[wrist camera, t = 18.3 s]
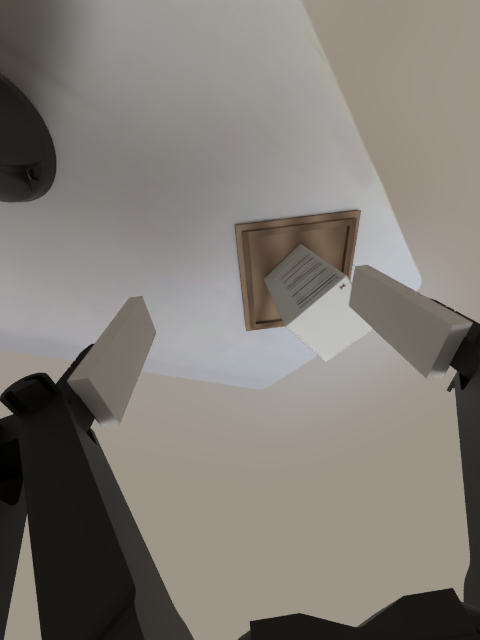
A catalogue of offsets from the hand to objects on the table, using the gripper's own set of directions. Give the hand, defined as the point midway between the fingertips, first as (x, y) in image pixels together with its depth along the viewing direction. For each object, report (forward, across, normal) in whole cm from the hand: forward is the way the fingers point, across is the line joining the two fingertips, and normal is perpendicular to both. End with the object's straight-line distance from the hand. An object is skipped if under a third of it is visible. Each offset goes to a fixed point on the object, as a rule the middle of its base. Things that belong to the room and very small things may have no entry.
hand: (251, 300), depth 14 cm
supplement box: (+27, +11, -10) cm, 31 cm away
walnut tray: (+28, +11, -10) cm, 32 cm away
